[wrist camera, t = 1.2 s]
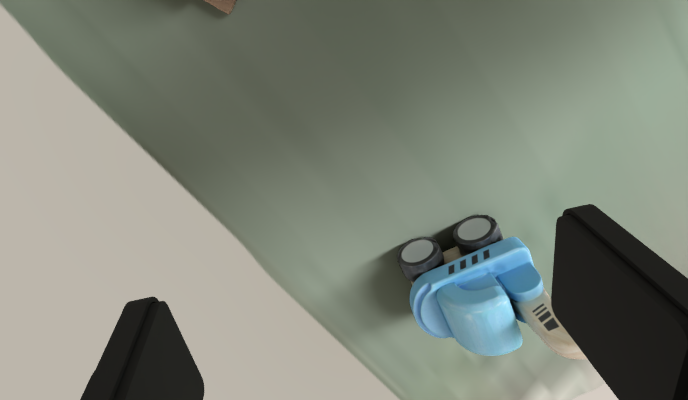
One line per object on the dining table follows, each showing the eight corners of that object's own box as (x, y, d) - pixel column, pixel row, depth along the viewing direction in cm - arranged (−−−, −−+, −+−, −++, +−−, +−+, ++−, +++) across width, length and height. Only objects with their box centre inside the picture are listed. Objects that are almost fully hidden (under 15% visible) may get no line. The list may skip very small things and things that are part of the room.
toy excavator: (568, 247, 45) (709, 390, 30) (414, 309, 47) (475, 474, 32) (554, 178, 41) (707, 304, 26) (386, 248, 43) (440, 405, 28)
